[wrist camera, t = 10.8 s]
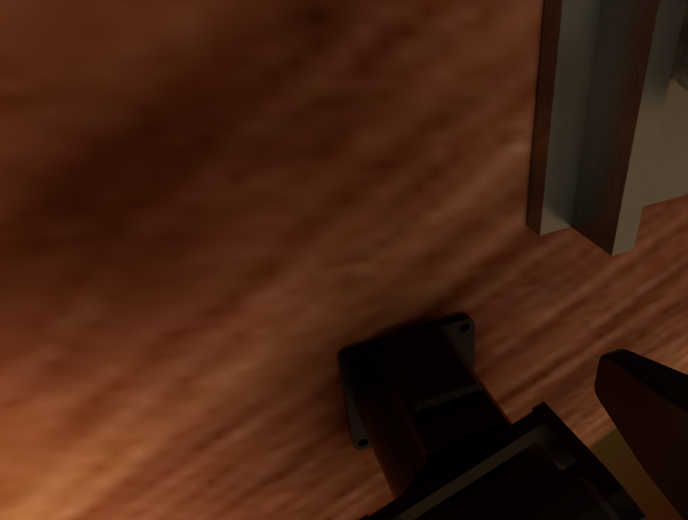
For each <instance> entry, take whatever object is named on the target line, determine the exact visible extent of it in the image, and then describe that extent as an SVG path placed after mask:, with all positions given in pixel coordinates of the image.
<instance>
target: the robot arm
mask: <svg viewBox="0 0 688 520" xmlns="http://www.w3.org/2000/svg"><path fill="white" fill-rule="evenodd" d="M463 324H464V325H463ZM462 325H463V326H462ZM474 327H475V325H474V321H473V320H472V319H471V318H470V316H468V315H467V314H460V315H457V316H453V317H450V318H447V319H443V320H440V321H437V322H433V323H430V324H427V325H423V326H420V327H417V328H414V329H410V330H407V331H404V332H400V333H397V334H394V335H390V336H387V337H384V338H380V339H377V340H374V341H370V342H367V343H364V344H360V345H357V346H354V347H351V348H347V349H345V350H343V351H342V352H341V353H340V354H339V356H338V364H339V370H340V376H341V382H342V388H343V394H344V400H345V406H346V412H347V418H348V423H349V429H350V435H351V440H352V443H353V445H354V447H355V448H356V449H358V450H362V449H366V448H369V447H372V448H373V450H374V452H375V455H376V457H377V459H378V462H379V464H380V466H381V469H382V471H383V473H384V476H385V478H386V480H387V483H388V485H389V487H390V490H391V492H392V494H393V497H394V499H395V500H393V501H392V502H390V503H388V504H387V505H385V506H384V507H382V508H381V509H379V510H378V511H376V512H374V513H373V514H371V515H370V516H368V515H365V516H364V517H362V518H361V519H359V520H648V519H647V518H646V516H645V515H644V514H643V512H642V511H641V510H640V508H639V507H638V506H637V504H636V503H635V502H634V500H633V499H632V498H631V497H630V495H629V494H628V493H627V492H626V490H625V489H624V488H623V487H622V485H621V484H620V483H619V482H618V481H617V479H616V478H615V477H614V476H613V475H612V474H611V473H610V472H609V471H608V469H607V468H606V467H605V466H604V465H603V464H602V463H601V462H600V461H599V460H598V458H597V457H596V456H595V455H594V454H593V453H592V452H591V451H590V450H589V449H588V448H587V447H586V446H585V445H584V444H583V443H582V441H581V440H580V439H579V438H578V437H577V436H576V435H575V434H574V433H573V432H572V431H571V430H570V429H569V428H568V427H567V426H566V425H565V423H564V422H563V421H562V420H561V419H560V418H559V417H558V416H557V415H556V414H555V413H554V412H553V411H552V410H551V409H550V408H549V406H548V405H547V404H546V403H545V402H542V403H540V404H539V405H537V406H536V407H534V408H532V412H531V413H529V414H528V415H526V416H525V417H523V418H521V419H520V420H518V421H517V422H515V423H514V424H512V423H511V422H510V420H509V419H508V417H507V416H506V415H505V413H504V412H503V411H502V409H501V408H500V406H499V405H498V404H497V402H496V401H495V400H494V398H493V397H492V395H491V394H490V393H489V391H488V390H487V389H486V387H485V386H484V384H483V383H482V382H481V380H480V379H479V378H478V376H477V375H476V373H475V372H474ZM350 358H353V359H352V360H350V361H347V360H348V359H350ZM595 392H596V395H597V397H598V399H599V401H600V402H601V404H602V405H603V407H604V408H605V410H606V411H607V413H608V414H609V416H610V418H611V419H612V421H613V422H614V424H615V425H616V427H617V428H618V430H619V431H620V433H621V435H622V436H623V437H624V439H625V441H626V442H627V444H628V445H629V447H630V448H631V450H632V451H633V453H634V455H635V456H636V457H637V459H638V461H639V462H640V463H641V465H642V466H643V468H644V469H645V471H646V472H647V473H648V475H649V476H650V477H651V478H652V480H653V481H654V483H655V484H656V485H657V486H658V488H659V489H660V490H661V491H662V493H663V494H664V495H665V497H666V498H667V499H668V500H669V501H670V503H671V504H672V505H673V507H674V508H675V509H676V510H677V512H678V513H679V514H680V515H681V517H682V518H683V519H684V520H688V375H686V374H684V373H682V372H679V371H677V370H674V369H672V368H670V367H667V366H665V365H662V364H660V363H658V362H655V361H653V360H650V359H648V358H646V357H643V356H641V355H638V354H636V353H634V352H631V351H629V350H626V349H618V350H615V351H612V352H609V353H606V354H603V355H602V356H601V357H600V360H599V364H598V369H597V374H596V380H595Z"/></svg>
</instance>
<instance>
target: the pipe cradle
mask: <svg viewBox="0 0 688 520" xmlns="http://www.w3.org/2000/svg"><path fill="white" fill-rule="evenodd" d="M686 1H687V0H544V12H543V25H542V37H541V50H540V62H539V75H538V88H537V100H536V113H535V125H534V138H533V150H532V163H531V175H530V188H529V201H528V213H527V225H528V226H529V227H530V228H531V229H533V230H534V231H535V232H536V233H538V234H539V235H543V234H547V233H551V232H554V231H558V230H561V229H565V228H568V227H572V228H574V229H575V230H576V231H578V232H579V233H581V234H582V235H583V236H585V237H586V238H588V239H589V240H590V241H592V242H593V243H595V244H596V245H597V246H599V247H600V248H601V249H603V250H604V251H606V252H607V253H608V254H610V255H611V256H613V255H617V254H620V253H623V252H627V251H630V250H633V249H634V246H635V241H636V237H637V232H638V227H639V222H640V218H641V213H642V208H643V206H647V205H650V204H654V203H657V202H661V201H665V200H668V199H672V198H675V197H679V196H682V195H686V194H688V91H687V90H685V89H684V88H683V87H682V86H680V85H679V84H678V82H677V81H676V79H675V77H674V76H673V74H672V72H671V71H672V67H673V62H674V57H675V52H676V48H677V43H678V38H679V34H680V29H681V24H682V19H683V15H684V10H685V5H686Z"/></svg>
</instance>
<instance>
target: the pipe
mask: <svg viewBox="0 0 688 520" xmlns="http://www.w3.org/2000/svg"><path fill="white" fill-rule="evenodd" d="M671 72H672V74H673V76H674V77H675V79H676V81H677V82H678V84H679V85H680V86H682V87H683V88H684V89H685V90H687V91H688V0H687V1H686V5H685V10H684V15H683V19H682V24H681V29H680V34H679V38H678V43H677V48H676V52H675V57H674V62H673V67H672V71H671Z"/></svg>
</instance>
